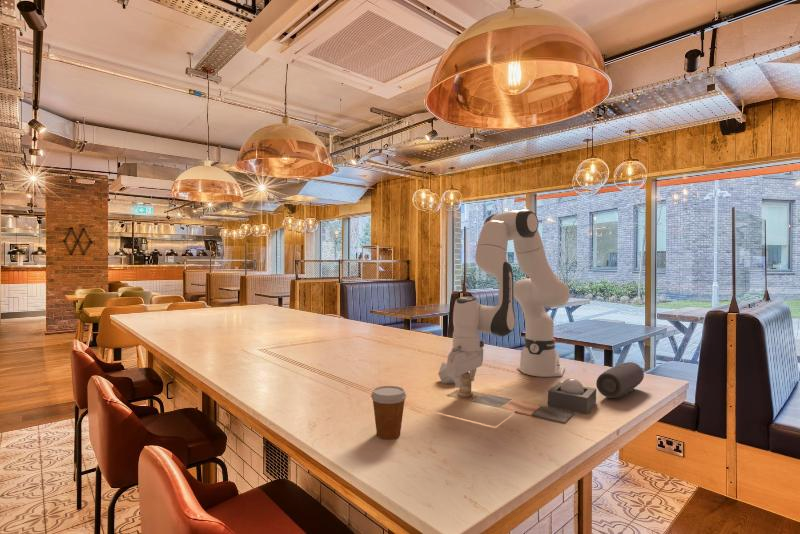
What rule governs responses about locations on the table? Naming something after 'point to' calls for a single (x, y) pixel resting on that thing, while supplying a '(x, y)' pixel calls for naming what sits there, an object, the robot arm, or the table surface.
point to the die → (445, 374)
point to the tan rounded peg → (465, 385)
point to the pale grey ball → (572, 386)
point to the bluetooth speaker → (619, 379)
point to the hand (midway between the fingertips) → (465, 384)
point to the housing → (572, 399)
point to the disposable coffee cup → (388, 410)
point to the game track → (519, 406)
